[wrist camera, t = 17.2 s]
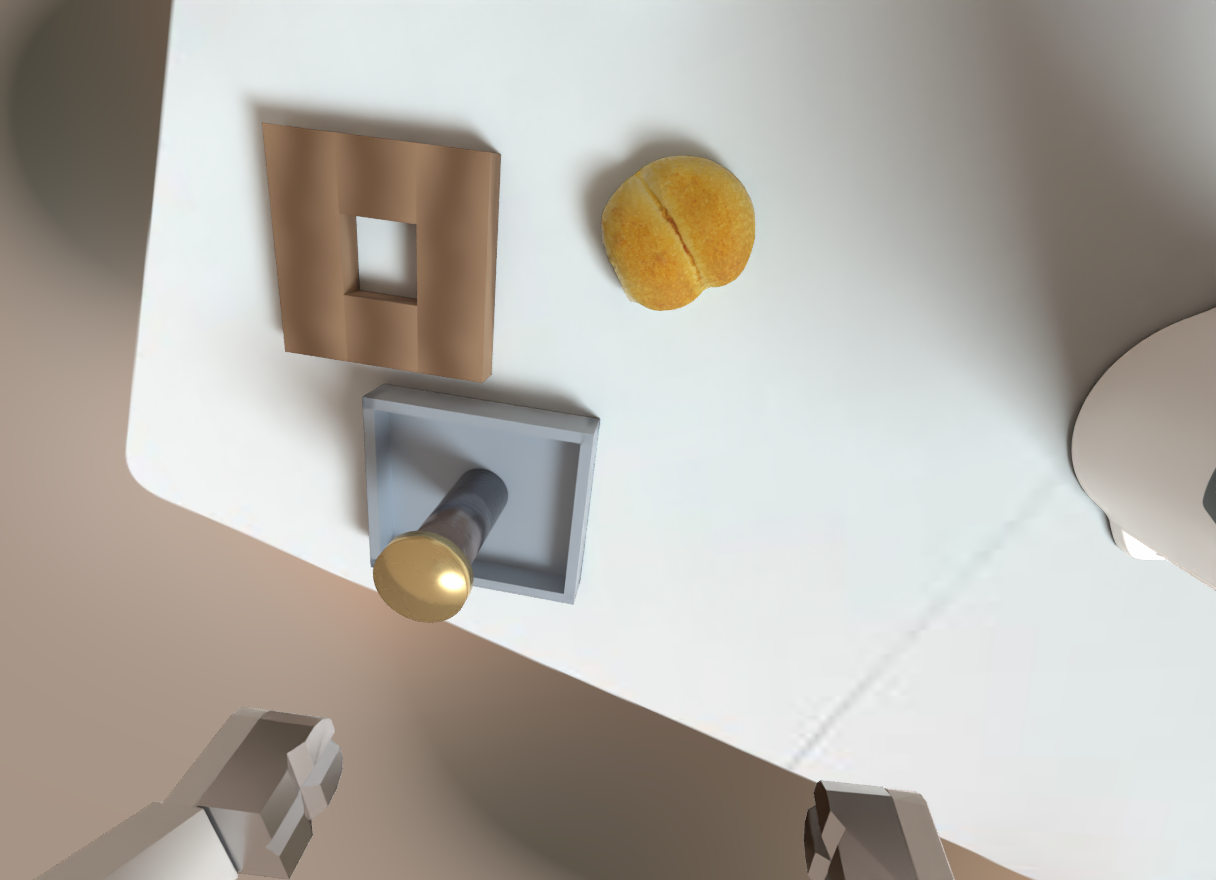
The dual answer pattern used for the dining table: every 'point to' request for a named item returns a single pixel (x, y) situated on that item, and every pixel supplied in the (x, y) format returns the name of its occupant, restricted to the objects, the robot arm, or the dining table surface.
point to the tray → (499, 442)
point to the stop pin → (441, 551)
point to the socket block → (328, 255)
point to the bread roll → (678, 231)
